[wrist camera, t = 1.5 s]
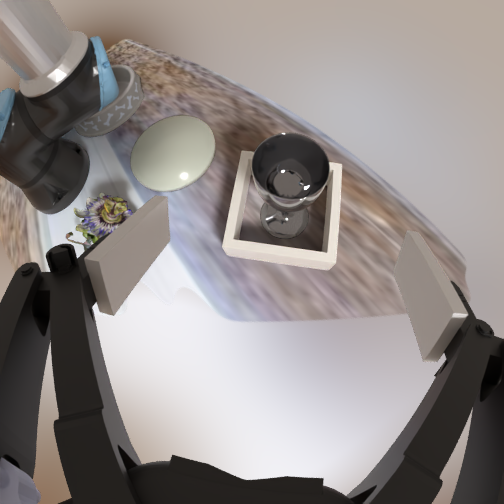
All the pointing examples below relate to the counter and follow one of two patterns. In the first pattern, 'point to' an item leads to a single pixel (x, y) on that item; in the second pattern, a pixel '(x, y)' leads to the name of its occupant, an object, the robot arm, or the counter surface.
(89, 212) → the passion flower
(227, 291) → the counter surface
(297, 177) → the wine glass
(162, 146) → the plate
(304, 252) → the holder
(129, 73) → the dog bowl
